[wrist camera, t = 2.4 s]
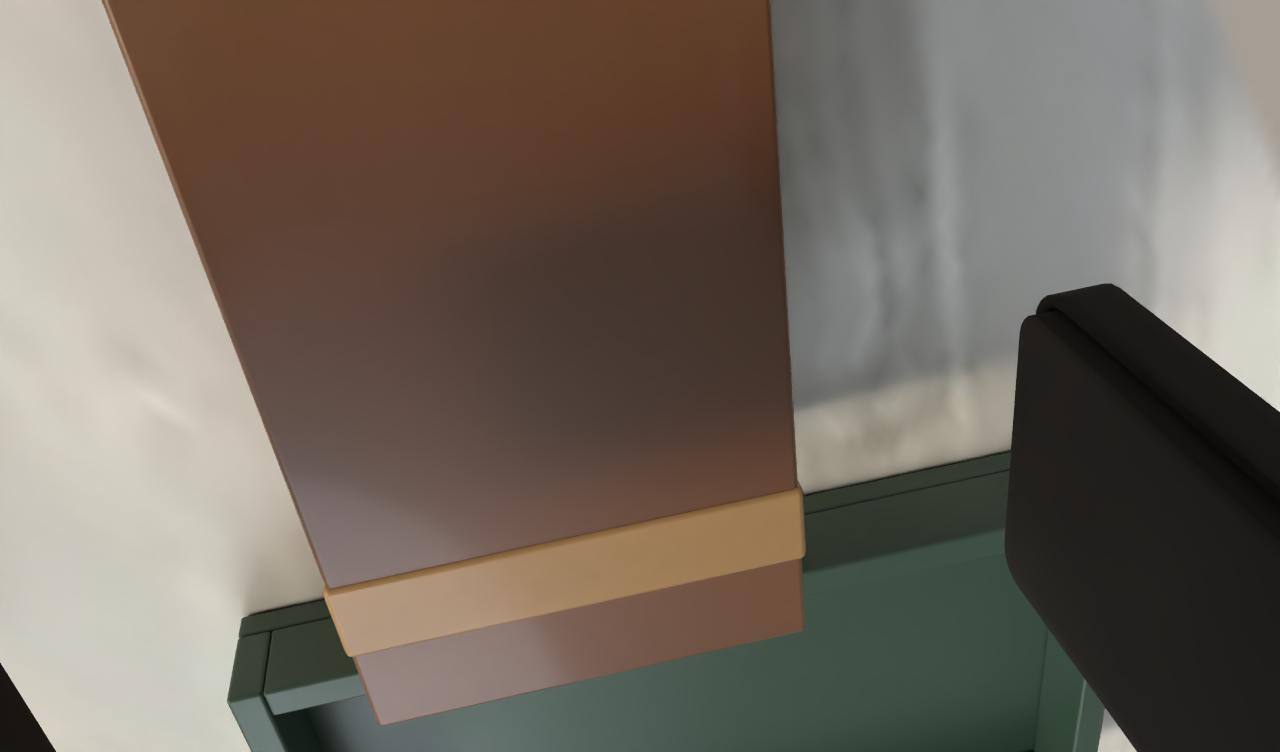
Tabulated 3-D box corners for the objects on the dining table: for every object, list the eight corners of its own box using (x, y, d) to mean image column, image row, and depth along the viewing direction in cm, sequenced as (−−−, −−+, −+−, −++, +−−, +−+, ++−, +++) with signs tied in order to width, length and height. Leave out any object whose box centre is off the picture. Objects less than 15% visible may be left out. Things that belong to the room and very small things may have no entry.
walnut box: (150, -213, 13) (22, -176, 9) (651, -287, 13) (764, -286, 9) (382, 501, 19) (374, 733, 15) (722, 429, 19) (812, 634, 15)
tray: (1083, 434, 21) (1142, 498, 19) (1044, 742, 26) (1088, 813, 24) (240, 617, 20) (224, 702, 18) (371, 904, 25) (368, 992, 23)
